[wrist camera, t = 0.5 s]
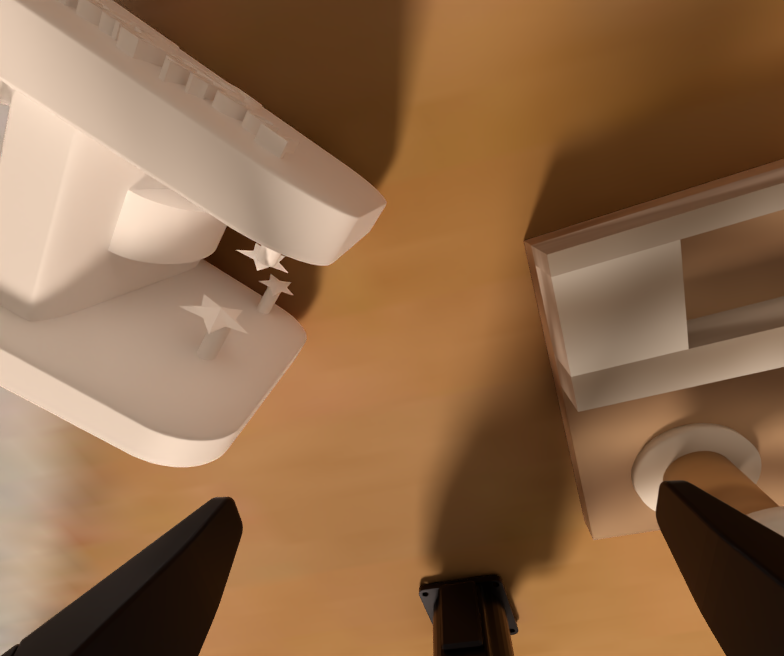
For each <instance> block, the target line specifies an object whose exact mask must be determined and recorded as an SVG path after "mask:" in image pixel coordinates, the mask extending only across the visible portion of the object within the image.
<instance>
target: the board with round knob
mask: <svg viewBox="0 0 784 656" xmlns="http://www.w3.org/2000/svg"><path fill="white" fill-rule="evenodd" d="M524 245H525V250H526V255H527V259H528V264H529V268H530V273H531V278H532V282H533V287H534V291H535V296H536V301H537V305H538V310H539V314H540V319H541V323H542V328H543V333H544V337H545V342H546V346H547V351H548V356H549V360H550V365H551V369H552V374H553V379H554V383H555V388H556V392H557V397H558V402H559V406H560V411H561V415H562V420H563V424H564V429H565V434H566V438H567V443H568V447H569V452H570V457H571V461H572V466H573V470H574V475H575V480H576V484H577V489H578V493H579V498H580V503H581V507H582V512H583V516H584V521H585V523H586V525H587V527H588V529H589V531H590V534H591V536H592V538H593V540H598V539H604V538H611V537H617V536H624V535H630V534H637V533H644V532H650V531H657V530H660V528H659V525H658V523H657V520H656V505H657V498H658V491H659V486H660V484H661V482H663V481H671V480H684V481H688V482H690V483H692V484H693V485H695V486H697V487H699V488H700V489H702V490H704V491H705V492H707V493H709V494H711V495H712V496H714V497H716V498H718V499H719V500H721V501H723V502H724V503H726V504H728V505H730V506H731V507H733V508H735V509H737V510H738V511H740V512H742V513H743V514H745V515H747V516H749V517H750V518H752V519H754V520H756V521H757V522H759V523H761V524H762V525H764V526H766V527H768V528H769V529H771V530H773V531H775V532H776V533H778V534H780V535H781V536H783V537H784V159H781V160H778V161H775V162H771V163H768V164H765V165H762V166H759V167H756V168H752V169H749V170H746V171H743V172H740V173H737V174H733V175H730V176H727V177H724V178H721V179H718V180H714V181H711V182H708V183H705V184H702V185H699V186H695V187H692V188H689V189H686V190H683V191H680V192H676V193H673V194H670V195H667V196H664V197H661V198H657V199H654V200H651V201H648V202H645V203H642V204H638V205H635V206H632V207H629V208H626V209H623V210H619V211H616V212H613V213H610V214H607V215H603V216H600V217H597V218H594V219H591V220H588V221H584V222H581V223H578V224H575V225H572V226H569V227H565V228H562V229H559V230H556V231H553V232H550V233H546V234H543V235H540V236H537V237H534V238H531V239H527V240H524Z"/></svg>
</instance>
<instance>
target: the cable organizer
mask: <svg viewBox="0 0 784 656" xmlns="http://www.w3.org/2000/svg"><path fill="white" fill-rule="evenodd" d="M0 103H1V104H5V105H9V106H10V109H9V114H8V120H7V125H6V130H5V136H4V141H3V147H2V152H1V157H0V386H1V387H3V388H5V389H7V390H9V391H11V392H13V393H14V394H16V395H18V396H20V397H22V398H24V399H26V400H28V401H30V402H32V403H33V404H35V405H37V406H39V407H41V408H43V409H45V410H47V411H49V412H50V413H52V414H54V415H56V416H58V417H60V418H62V419H64V420H66V421H68V422H69V423H71V424H73V425H75V426H77V427H79V428H81V429H83V430H85V431H86V432H88V433H90V434H92V435H94V436H96V437H98V438H100V439H102V440H104V441H105V442H107V443H109V444H111V445H113V446H115V447H117V448H119V449H121V450H122V451H124V452H126V453H128V454H130V455H132V456H134V457H137V458H139V459H142V460H145V461H147V462H150V463H155V464H159V465H164V466H172V467H193V466H199V465H203V464H207V463H209V462H212V461H214V460H216V459H218V458H219V457H221V456H222V455H223V454H224V453H225V452H226V451H227V450H228V448H229V447H230V446H231V444H232V443H233V442H234V440H235V439H236V438H237V436H238V435H239V434H240V432H241V431H242V430H243V428H244V427H245V426H246V424H247V423H248V421H249V420H250V419H251V417H252V416H253V415H254V413H255V412H256V411H257V409H258V408H259V407H260V405H261V404H262V403H263V401H264V400H265V399H266V397H267V396H268V395H269V393H270V392H271V391H272V389H273V388H274V387H275V385H276V384H277V383H278V381H279V380H280V379H281V377H282V376H283V375H284V373H285V372H286V371H287V369H288V368H289V367H290V365H291V364H292V363H293V361H294V360H295V358H296V357H297V355H298V353H299V352H300V350H301V349H302V347H303V345H304V344H305V342H306V340H307V336H306V332H305V330H304V328H303V327H302V326H301V324H300V323H299V322H298V321H297V320H296V319H295V318H294V317H293V316H292V315H290V314H289V313H288V312H287V311H285V310H284V309H282V308H281V307H279V306H278V305H276V304H275V302H276V300H277V298H278V297H279V295H280V293H281V292H284V293H287V294H290V295H293V294H292V293H291V292H290V290H289V289H288V288H287V287H288V286H289V285H290V283H291V282H285V281H280V280H278V279H277V278H276V277H274V276H273V275H272V274H270V280H266V281H259V282H261V283H263V284H265V285H267V286H268V287H267V289H266V291H265V293H264V295H263V296H261V295H260V294H258V293H257V292H255V291H253V290H252V289H250V288H249V287H247V286H245V285H244V284H242V283H241V282H239V281H237V280H236V279H234V278H232V277H231V276H229V275H228V274H226V273H224V272H223V271H221V270H220V269H218V268H216V267H215V266H213V265H212V264H210V263H208V262H207V261H205V260H204V258H206V257H208V256H210V255H211V254H212V253H214V252H215V250H216V249H217V246H218V244H219V242H220V240H221V238H222V235H223V233H224V231H225V229H226V227H227V226H229V227H230V228H232V229H234V230H235V231H237V232H239V233H240V234H242V235H244V236H246V237H248V238H249V239H251V240H253V241H255V242H257V243H259V244H261V246H260V245H258V244H257V243H256V244H255V247H254V251H248V250H237V251H238V252H240V253H242V254H244V255H246V256H248V257H250V258H252V259H254V262H255V265H256V269H257V271H258V270H262V269H265V268H268V267H273V268H276V269H278V270H281V271H284V272H287V271H286V270H285V268H284V267H283V266H282V265H281V264H280V263H279V262H280V261H281V260H282V259H283V258H284V257H285V256H287V257H290V258H293V259H295V260H298V261H302V262H305V263H309V264H313V265H321V266H324V265H330V264H332V263H334V262H335V261H336V260H337V259H338V258H339V257H341V256H342V255H343V254H344V253H345V252H346V251H348V250H349V249H350V248H351V247H352V246H353V245H355V244H356V243H357V242H358V241H359V240H360V239H362V238H363V237H364V236H365V235H366V234H367V233H369V232H370V230H371V228H372V227H373V225H374V224H375V222H376V220H377V219H378V217H379V215H380V214H381V212H382V211H383V209H384V207H385V206H386V203H387V202H386V200H385V198H384V197H383V196H382V194H381V193H380V192H379V191H378V190H377V189H376V188H375V187H373V186H372V185H371V184H370V183H369V182H368V181H367V180H365V179H364V178H363V177H362V176H360V175H359V174H358V173H356V172H355V171H354V170H352V169H351V168H349V167H348V166H347V165H345V164H344V163H342V162H341V161H340V160H338V159H337V158H335V157H334V156H332V155H331V154H330V153H328V152H327V151H325V150H324V149H322V148H321V147H320V146H318V145H317V144H315V143H314V142H312V141H311V140H309V139H308V138H307V137H305V136H304V135H302V134H301V133H299V132H298V131H297V130H295V129H294V128H292V127H291V126H289V125H288V124H287V123H285V122H284V121H282V120H281V119H279V118H278V117H277V116H275V115H274V114H272V113H271V112H269V111H268V110H267V109H265V108H264V107H262V105H261V104H260V103H259V102H257V101H256V100H255V99H253V98H252V97H250V96H249V95H247V94H246V93H245V92H243V91H242V90H240V89H239V88H237V87H235V86H233V85H232V84H230V83H228V82H227V81H225V80H224V79H222V78H221V77H219V76H218V75H216V74H215V73H214V72H212V71H211V70H209V69H208V68H206V67H205V66H204V65H202V64H201V63H199V62H198V61H196V60H195V59H194V58H192V57H191V56H189V55H188V54H186V53H185V52H184V51H182V50H181V49H179V46H177V45H176V44H175V43H173V42H172V41H170V40H169V39H167V38H166V37H165V36H163V35H162V34H160V33H159V32H157V31H156V30H155V29H153V28H152V27H150V26H149V25H147V24H146V23H145V22H143V21H142V20H140V19H139V18H137V17H136V16H134V15H133V14H132V13H130V12H129V11H127V10H126V9H124V8H123V7H122V6H120V5H119V4H117V3H116V2H114V1H113V0H0ZM281 254H282V255H285V256H282V255H281ZM287 273H288V272H287ZM293 296H294V295H293Z"/></svg>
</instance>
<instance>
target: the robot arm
mask: <svg viewBox="0 0 784 656" xmlns="http://www.w3.org/2000/svg"><path fill="white" fill-rule="evenodd" d="M656 520H657V523H658V525H659V528H660V530H661V532H662V534H663V536H664V538H665V540H666V542H667V544H668V546H669V548H670V550H671V553H672V555H673V557H674V559H675V561H676V563H677V565H678V567H679V569H680V571H681V573H682V575H683V577H684V579H685V581H686V584H687V586H688V588H689V590H690V592H691V594H692V596H693V598H694V600H695V602H696V604H697V606H698V608H699V610H700V612H701V613H702V615H703V617H704V619H705V620H706V622H707V624H708V626H709V627H710V629H711V631H712V633H713V634H714V636H715V638H716V639H717V641H718V643H719V644H720V646H721V648H722V649H723V651H724V653H725V654H726V656H784V537H783V536H781V535H780V534H778V533H776V532H775V531H773V530H771V529H769V528H768V527H766V526H764V525H762V524H761V523H759V522H757V521H756V520H754V519H752V518H750V517H749V516H747V515H745V514H743V513H742V512H740V511H738V510H737V509H735V508H733V507H731V506H730V505H728V504H726V503H724V502H723V501H721V500H719V499H718V498H716V497H714V496H712V495H711V494H709V493H707V492H705V491H704V490H702V489H700V488H699V487H697V486H695V485H693V484H692V483H690V482H688V481H684V480H671V481H663V482H661V484H660V486H659V491H658V498H657V505H656ZM242 531H243V526H242V521H241V518H240V515H239V513H238V510H237V507H236V504H235V502H234V500H233V499H232V498H231V497H216V498H212V499H211V500H209V501H208V502H207V503H205V504H204V505H203V506H201V507H200V508H199V509H197V510H196V511H195V512H193V513H192V514H191V515H189V516H188V517H187V518H185V519H184V520H182V521H181V522H180V523H178V524H177V525H176V526H174V527H173V528H172V529H170V530H169V531H168V532H166V533H165V534H164V535H162V536H161V537H160V538H158V539H157V540H156V541H154V542H153V543H152V544H150V545H149V546H148V547H146V548H145V549H144V550H142V551H141V552H140V553H138V554H137V555H136V556H134V557H133V558H132V559H130V560H129V561H127V562H126V563H125V564H123V565H122V566H121V567H119V568H118V569H117V570H115V571H114V572H113V573H111V574H110V575H109V576H107V577H106V578H105V579H103V580H102V581H101V582H99V583H98V584H97V585H95V586H94V587H93V588H91V589H90V590H89V591H87V592H86V593H85V594H83V595H82V596H81V597H79V598H78V599H77V600H75V601H74V602H72V603H71V604H70V605H68V606H67V607H66V608H64V609H63V610H62V611H60V612H59V613H58V614H56V615H55V616H54V617H52V618H51V619H50V620H48V621H47V622H46V623H44V624H43V625H42V626H40V627H39V628H38V629H36V630H35V631H34V632H32V633H31V634H30V635H28V636H27V637H26V638H24V639H23V640H22V641H21V642H20V644H17V645H15V646H13V647H12V648H11V649H9V650H8V651H7V652H5V653H4V654H3V655H1V656H198V655H199V653H200V650H201V648H202V646H203V643H204V641H205V638H206V636H207V634H208V631H209V629H210V626H211V624H212V622H213V619H214V617H215V614H216V612H217V609H218V606H219V603H220V601H221V598H222V595H223V592H224V588H225V585H226V582H227V579H228V576H229V573H230V570H231V567H232V564H233V561H234V558H235V554H236V551H237V548H238V545H239V542H240V539H241V536H242ZM419 596H420V598H421V600H422V602H423V605H424V607H425V609H426V611H427V613H428V615H429V618H430V620H431V622H432V624H433V656H514V652H513V647H512V641H511V636H510V635H514V634H516V633H518V627H517V623H516V620H515V617H514V614H513V611H512V608H511V605H510V602H509V600H508V597H507V594H506V591H505V588H504V585H503V582H502V579H501V577H500V576H498V575H490V576H483V577H476V578H469V579H462V580H454V581H447V582H440V583H433V584H426V585H421V586H420V587H419Z"/></svg>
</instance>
